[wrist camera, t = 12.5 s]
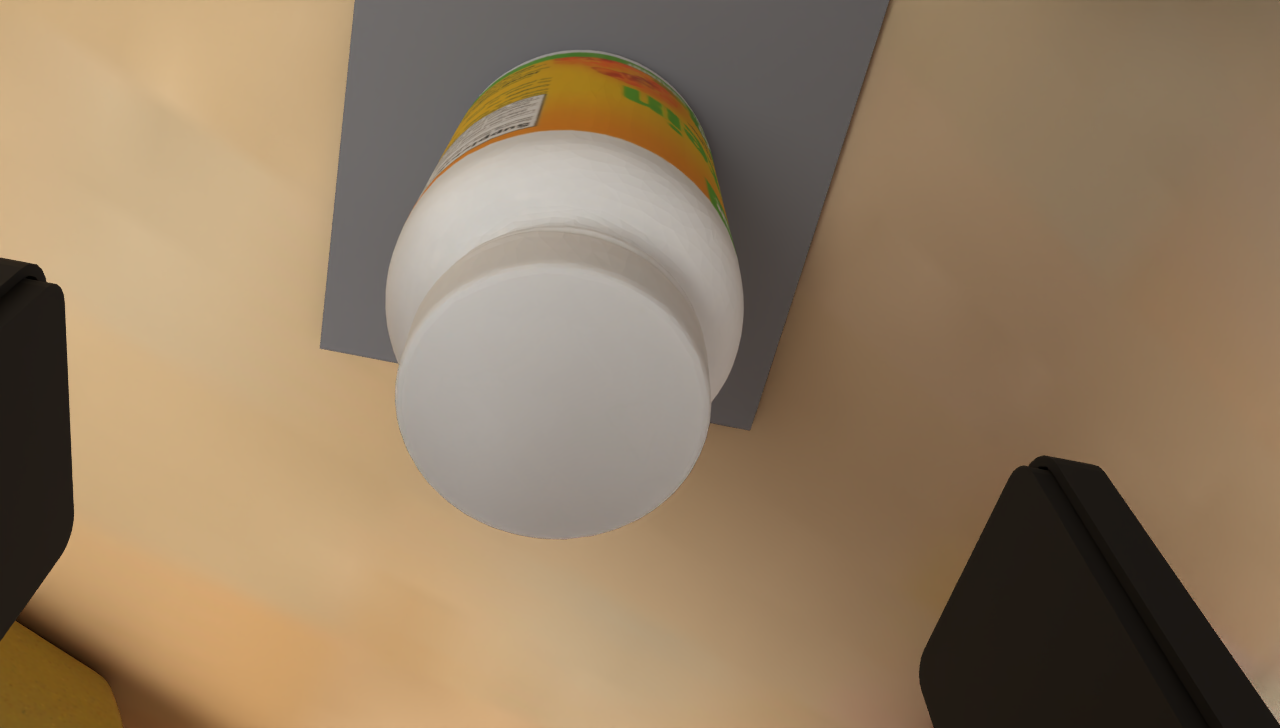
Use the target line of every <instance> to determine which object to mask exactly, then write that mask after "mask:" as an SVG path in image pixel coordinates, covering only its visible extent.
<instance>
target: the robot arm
mask: <svg viewBox="0 0 1280 728" xmlns="http://www.w3.org/2000/svg"><path fill="white" fill-rule="evenodd" d="M73 521H74V503H73V480H72V457H71V435H70V412H69V389H68V366H67V344H66V321H65V301H64V294H63V292H62V289H61V287H59V286H58V285H57V284H53V283H48V282H46V278H45V275H44V273H43V271H42V269H41V268H40V267H39V266H38V265H37V264H31V263H26V262H21V261H16V260H10V259H5V258H0V641H1V640H2V639H3V637H4V636H5V634H6V633H7V631H8V630H9V629H10V627H11V626H12V624H13V623H14V622H15V620H16V619H17V617H18V616H19V614H20V613H21V612H22V610H23V609H24V607H25V606H26V605H27V603H28V602H29V600H30V599H31V597H32V596H33V595H34V593H35V592H36V590H37V589H38V588H39V586H40V585H41V583H42V582H43V580H44V579H45V578H46V576H47V575H48V573H49V572H50V571H51V569H52V568H53V566H54V565H55V563H56V562H57V561H58V559H59V558H60V556H61V555H62V553H63V551H64V550H65V548H66V546H67V543H68V541H69V538H70V535H71V531H72V527H73ZM919 679H920V686H921V690H922V693H923V696H924V699H925V702H926V705H927V708H928V711H929V714H930V717H931V720H932V724H933V727H934V728H1280V725H1279V723H1278V722H1277V720H1276V719H1275V718H1274V716H1273V715H1272V713H1271V712H1270V710H1269V709H1268V707H1267V706H1266V705H1265V703H1264V702H1263V700H1262V699H1261V697H1260V696H1259V694H1258V693H1257V692H1256V690H1255V689H1254V687H1253V686H1252V684H1251V683H1250V681H1249V680H1248V679H1247V677H1246V676H1245V674H1244V673H1243V671H1242V670H1241V668H1240V667H1239V666H1238V664H1237V663H1236V661H1235V660H1234V658H1233V657H1232V655H1231V654H1230V653H1229V651H1228V650H1227V648H1226V647H1225V645H1224V644H1223V642H1222V641H1221V640H1220V638H1219V637H1218V635H1217V634H1216V632H1215V631H1214V629H1213V628H1212V627H1211V625H1210V624H1209V622H1208V621H1207V619H1206V618H1205V616H1204V615H1203V614H1202V612H1201V611H1200V609H1199V608H1198V606H1197V605H1196V603H1195V602H1194V601H1193V599H1192V598H1191V596H1190V595H1189V593H1188V592H1187V590H1186V589H1185V588H1184V586H1183V585H1182V583H1181V582H1180V580H1179V579H1178V577H1177V576H1176V575H1175V573H1174V572H1173V570H1172V569H1171V567H1170V566H1169V564H1168V563H1167V562H1166V560H1165V559H1164V557H1163V556H1162V554H1161V553H1160V551H1159V550H1158V549H1157V547H1156V546H1155V544H1154V543H1153V541H1152V540H1151V538H1150V537H1149V536H1148V534H1147V533H1146V531H1145V530H1144V528H1143V527H1142V525H1141V524H1140V523H1139V521H1138V520H1137V518H1136V517H1135V515H1134V514H1133V512H1132V511H1131V510H1130V508H1129V507H1128V505H1127V504H1126V502H1125V501H1124V499H1123V498H1122V497H1121V495H1120V494H1119V492H1118V491H1117V489H1116V488H1115V486H1114V485H1113V484H1112V482H1111V481H1110V479H1109V478H1108V476H1107V475H1106V473H1105V472H1104V471H1103V470H1102V469H1101V468H1100V467H1099V466H1095V465H1092V464H1087V463H1081V462H1076V461H1071V460H1065V459H1060V458H1055V457H1050V456H1040V457H1037V458H1036V459H1035V460H1034V461H1032V462H1031V463H1030V465H1029V466H1020V467H1018V468H1017V469H1016V470H1014V471H1013V473H1012V474H1011V476H1010V478H1009V479H1008V481H1007V483H1006V485H1005V487H1004V489H1003V491H1002V494H1001V496H1000V498H999V500H998V502H997V504H996V506H995V508H994V510H993V512H992V514H991V516H990V518H989V520H988V522H987V524H986V526H985V528H984V530H983V532H982V534H981V536H980V538H979V540H978V542H977V544H976V546H975V548H974V550H973V552H972V554H971V556H970V558H969V560H968V562H967V564H966V566H965V568H964V570H963V572H962V574H961V576H960V578H959V580H958V582H957V584H956V586H955V588H954V590H953V592H952V594H951V596H950V599H949V601H948V603H947V605H946V607H945V609H944V611H943V613H942V615H941V617H940V619H939V621H938V623H937V625H936V627H935V629H934V631H933V633H932V635H931V637H930V639H929V641H928V643H927V645H926V647H925V649H924V651H923V654H922V657H921V662H920V669H919Z"/></svg>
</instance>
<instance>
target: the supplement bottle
mask: <svg viewBox="0 0 1280 728" xmlns="http://www.w3.org/2000/svg"><path fill="white" fill-rule="evenodd" d="M385 309H386V319H387V328H388V332H389V337H390V341H391V344H392V347H393V351H394V354H395V356H396V359H397V362H398V364H399V367H398V372H397V378H396V387H395V405H396V413H397V420H398V424H399V429H400V432H401V435H402V437H403V440H404V443H405V445H406V448H407V450H408V452H409V454H410V456H411V458H412V459H413V461H414V463H415V465H416V466H417V468H418V470H419V471H420V472H421V474H422V475H423V476H424V478H425V479H426V480H427V482H428V483H429V484H430V485H431V486H432V487H433V488H434V489H435V490H436V491H437V492H438V493H439V494H440V495H441V496H442V497H443V498H445V499H446V500H447V501H448V502H449V503H451V504H452V505H453V506H455V507H456V508H457V509H459V510H460V511H462V512H463V513H465V514H466V515H468V516H470V517H472V518H474V519H476V520H478V521H480V522H482V523H484V524H486V525H489V526H491V527H493V528H496V529H500V530H503V531H506V532H509V533H513V534H517V535H521V536H527V537H534V538H543V539H571V538H579V537H587V536H594V535H597V534H601V533H605V532H608V531H611V530H614V529H617V528H620V527H622V526H624V525H627V524H629V523H631V522H633V521H636V520H638V519H640V518H642V517H643V516H645V515H646V514H648V513H650V512H651V511H653V510H654V509H655V508H657V507H658V506H659V505H661V504H662V503H663V502H664V501H665V500H667V499H668V498H669V497H670V496H671V495H672V494H673V493H674V492H675V491H676V490H677V489H678V487H679V486H680V485H681V484H682V483H683V481H684V480H685V479H686V478H687V476H688V475H689V473H690V472H691V470H692V469H693V467H694V465H695V463H696V461H697V459H698V457H699V455H700V453H701V451H702V448H703V445H704V443H705V440H706V437H707V433H708V428H709V424H710V415H711V402H712V401H713V399H714V398H715V397H716V395H717V394H718V393H719V391H720V389H721V388H722V386H723V385H724V383H725V381H726V380H727V378H728V375H729V373H730V371H731V369H732V366H733V364H734V361H735V358H736V355H737V352H738V347H739V343H740V339H741V334H742V326H743V315H744V298H743V287H742V280H741V274H740V269H739V263H738V258H737V254H736V251H735V247H734V244H733V240H732V236H731V232H730V228H729V224H728V220H727V216H726V212H725V208H724V204H723V200H722V196H721V192H720V187H719V183H718V180H717V175H716V171H715V167H714V162H713V158H712V154H711V150H710V147H709V144H708V142H707V139H706V137H705V134H704V131H703V129H702V127H701V125H700V123H699V121H698V119H697V117H696V116H695V114H694V112H693V111H692V109H691V108H690V106H689V105H688V104H687V102H686V101H685V100H684V98H683V97H682V96H681V95H680V94H679V93H678V92H677V91H676V89H675V88H674V87H673V86H671V85H670V84H669V83H668V82H667V81H666V80H664V79H663V78H662V77H660V76H659V75H658V74H657V73H655V72H653V71H652V70H650V69H648V68H647V67H645V66H643V65H641V64H639V63H637V62H635V61H632V60H630V59H627V58H624V57H622V56H619V55H616V54H611V53H607V52H601V51H594V50H567V51H560V52H554V53H550V54H546V55H542V56H539V57H536V58H534V59H531V60H529V61H526V62H524V63H522V64H520V65H518V66H516V67H515V68H513V69H511V70H509V71H508V72H506V73H504V74H503V75H502V76H500V77H499V78H498V79H496V80H495V81H494V82H493V83H491V84H490V85H489V86H488V87H487V88H486V89H485V90H484V91H483V93H482V94H481V95H480V96H479V97H478V98H477V100H476V101H475V102H474V103H473V105H472V106H471V107H470V109H469V110H468V111H467V113H466V114H465V116H464V118H463V120H462V121H461V123H460V125H459V126H458V128H457V130H456V131H455V133H454V135H453V137H452V139H451V141H450V142H449V144H448V146H447V148H446V149H445V151H444V153H443V155H442V157H441V158H440V160H439V162H438V164H437V166H436V168H435V170H434V171H433V173H432V175H431V177H430V179H429V181H428V182H427V184H426V186H425V188H424V190H423V192H422V193H421V195H420V197H419V199H418V201H417V202H416V204H415V205H414V207H413V209H412V211H411V213H410V215H409V217H408V218H407V220H406V222H405V224H404V226H403V229H402V231H401V233H400V236H399V238H398V240H397V243H396V246H395V249H394V251H393V254H392V258H391V262H390V266H389V269H388V276H387V283H386V307H385Z"/></svg>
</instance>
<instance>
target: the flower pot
mask: <svg viewBox="0 0 1280 728" xmlns="http://www.w3.org/2000/svg"><path fill="white" fill-rule="evenodd" d="M0 728H123V725H122V720H121V716H120V712H119V709H118V706H117V703H116V701H115V698H114V695H113V693H112V690H111V687H110V685H109V684H108V683H107V681H106V680H105V679H104V678H103V677H102V676H100V675H99V674H98V673H96V672H95V671H93V670H92V669H90V668H89V667H87V666H85V665H84V664H82V663H81V662H79V661H78V660H76V659H74V658H73V657H71V656H70V655H68V654H67V653H65V652H64V651H62V650H60V649H59V648H57V647H56V646H54V645H52V644H51V643H49V642H48V641H46V640H45V639H43V638H41V637H40V636H38V635H37V634H35V633H34V632H32V631H31V630H29V629H27V628H26V627H24V626H23V625H21V624H20V623H18V622H17V621H15V622H14V623H13V624H12V626H11V627H10V629H9V630H8V631H7V633H6V634H5V636H4V637H3V639H2V640H1V641H0Z"/></svg>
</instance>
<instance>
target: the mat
mask: <svg viewBox="0 0 1280 728" xmlns="http://www.w3.org/2000/svg"><path fill="white" fill-rule="evenodd" d="M888 3H889V0H355V4H354V14H353V24H352V34H351V44H350V54H349V64H348V74H347V84H346V94H345V103H344V113H343V123H342V133H341V143H340V153H339V163H338V173H337V183H336V193H335V203H334V213H333V223H332V233H331V243H330V253H329V262H328V272H327V282H326V292H325V302H324V312H323V322H322V332H321V342H320V349H325V350H331V351H336V352H341V353H346V354H352V355H357V356H362V357H367V358H373V359H378V360H383V361H388V362H394V363H398V362H397V359H396V356H395V354H394V351H393V347H392V344H391V341H390V337H389V332H388V328H387V319H386V309H385V307H386V283H387V276H388V269H389V266H390V262H391V258H392V254H393V251H394V249H395V246H396V243H397V240H398V238H399V236H400V233H401V231H402V229H403V226H404V224H405V222H406V220H407V218H408V217H409V215H410V213H411V211H412V209H413V207H414V205H415V204H416V202H417V201H418V199H419V197H420V195H421V193H422V192H423V190H424V188H425V186H426V184H427V182H428V181H429V179H430V177H431V175H432V173H433V171H434V170H435V168H436V166H437V164H438V162H439V160H440V158H441V157H442V155H443V153H444V151H445V149H446V148H447V146H448V144H449V142H450V141H451V139H452V137H453V135H454V133H455V131H456V130H457V128H458V126H459V125H460V123H461V121H462V120H463V118H464V116H465V114H466V113H467V111H468V110H469V109H470V107H471V106H472V105H473V103H474V102H475V101H476V100H477V98H478V97H479V96H480V95H481V94H482V93H483V91H484V90H485V89H486V88H487V87H488V86H489V85H490V84H491V83H493V82H494V81H495V80H496V79H498V78H499V77H500V76H502V75H503V74H504V73H506V72H508V71H509V70H511V69H513V68H515V67H516V66H518V65H520V64H522V63H524V62H526V61H529V60H531V59H534V58H536V57H539V56H542V55H546V54H550V53H554V52H560V51H567V50H594V51H601V52H607V53H611V54H616V55H619V56H622V57H624V58H627V59H630V60H632V61H635V62H637V63H639V64H641V65H643V66H645V67H647V68H648V69H650V70H652V71H653V72H655V73H657V74H658V75H659V76H660V77H662V78H663V79H664V80H666V81H667V82H668V83H669V84H670V85H671V86H673V87H674V88H675V89H676V91H677V92H678V93H679V94H680V95H681V96H682V97H683V98H684V100H685V101H686V102H687V104H688V105H689V106H690V108H691V109H692V111H693V112H694V114H695V116H696V117H697V119H698V121H699V123H700V125H701V127H702V129H703V131H704V134H705V137H706V139H707V142H708V144H709V147H710V150H711V154H712V158H713V162H714V167H715V171H716V175H717V180H718V183H719V187H720V192H721V196H722V200H723V204H724V208H725V212H726V216H727V220H728V224H729V228H730V232H731V236H732V240H733V244H734V247H735V251H736V254H737V258H738V263H739V269H740V274H741V280H742V287H743V298H744V315H743V326H742V334H741V339H740V343H739V347H738V352H737V355H736V358H735V361H734V364H733V366H732V369H731V371H730V373H729V375H728V378H727V380H726V381H725V383H724V385H723V386H722V388H721V389H720V391H719V393H718V394H717V395H716V397H715V398H714V399H713V401H712V402H711V415H710V423H713V424H718V425H724V426H729V427H734V428H739V429H744V430H750V429H751V426H752V423H753V420H754V417H755V414H756V411H757V408H758V405H759V402H760V399H761V395H762V392H763V389H764V386H765V383H766V380H767V377H768V374H769V371H770V368H771V365H772V362H773V358H774V355H775V352H776V349H777V346H778V343H779V340H780V337H781V334H782V331H783V328H784V324H785V321H786V318H787V315H788V312H789V309H790V306H791V303H792V300H793V297H794V294H795V291H796V287H797V284H798V281H799V278H800V275H801V272H802V269H803V266H804V263H805V260H806V257H807V253H808V250H809V247H810V244H811V241H812V238H813V235H814V232H815V229H816V226H817V223H818V220H819V216H820V213H821V210H822V207H823V204H824V201H825V198H826V195H827V192H828V189H829V186H830V182H831V179H832V176H833V173H834V170H835V167H836V164H837V161H838V158H839V155H840V152H841V148H842V145H843V142H844V139H845V136H846V133H847V130H848V127H849V124H850V121H851V118H852V115H853V111H854V108H855V105H856V102H857V99H858V96H859V93H860V90H861V87H862V84H863V81H864V77H865V74H866V71H867V68H868V65H869V62H870V59H871V56H872V53H873V50H874V47H875V44H876V40H877V37H878V34H879V31H880V28H881V25H882V22H883V19H884V16H885V13H886V10H887V6H888Z"/></svg>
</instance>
